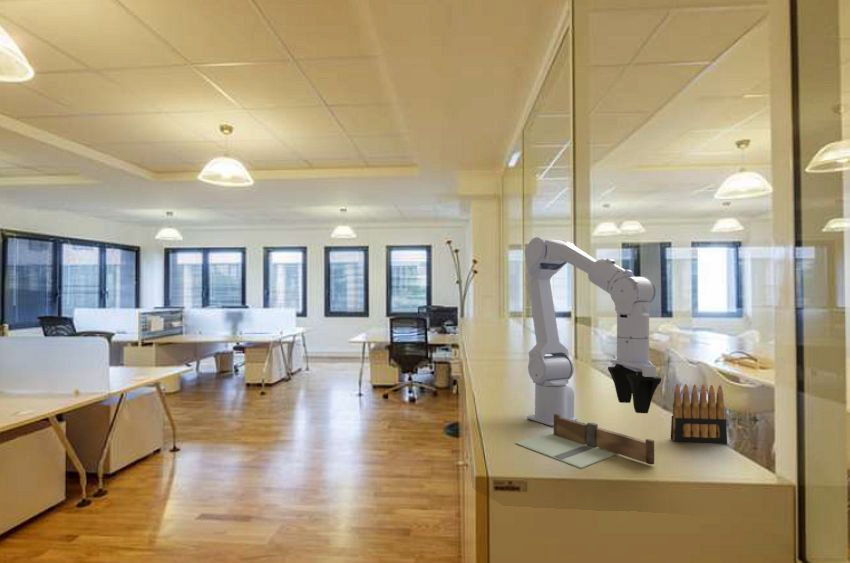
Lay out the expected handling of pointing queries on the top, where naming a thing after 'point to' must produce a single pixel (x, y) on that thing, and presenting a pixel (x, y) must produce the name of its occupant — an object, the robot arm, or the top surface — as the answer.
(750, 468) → the top surface
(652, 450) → the fence gate
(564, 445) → the card
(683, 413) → the ammunition clip
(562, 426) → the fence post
